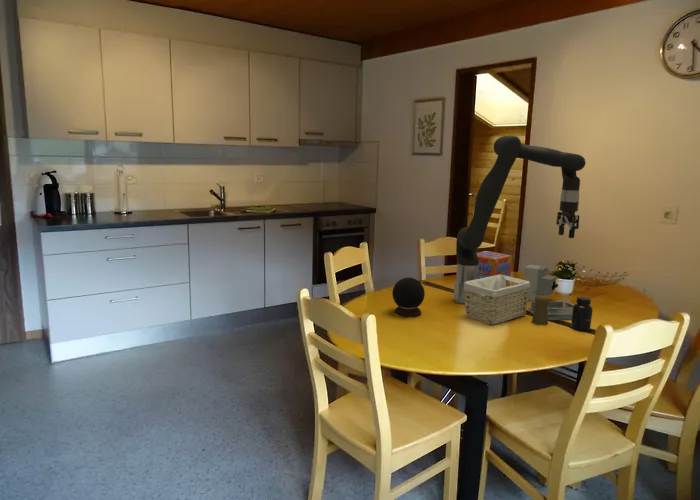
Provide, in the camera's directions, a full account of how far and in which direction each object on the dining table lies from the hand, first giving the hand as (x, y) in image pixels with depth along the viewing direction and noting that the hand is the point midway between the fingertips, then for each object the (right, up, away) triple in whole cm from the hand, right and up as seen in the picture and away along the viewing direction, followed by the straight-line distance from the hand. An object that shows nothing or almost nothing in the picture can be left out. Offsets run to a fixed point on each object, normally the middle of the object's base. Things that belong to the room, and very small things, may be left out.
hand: (566, 236), depth 224 cm
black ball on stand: (-73, -32, -18) cm, 82 cm away
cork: (-22, -35, -27) cm, 50 cm away
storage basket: (-38, -33, -20) cm, 54 cm away
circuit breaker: (-10, -29, +4) cm, 31 cm away
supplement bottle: (-9, -36, -33) cm, 50 cm away
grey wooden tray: (-13, -33, -18) cm, 40 cm away
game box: (-26, -24, +30) cm, 47 cm away
